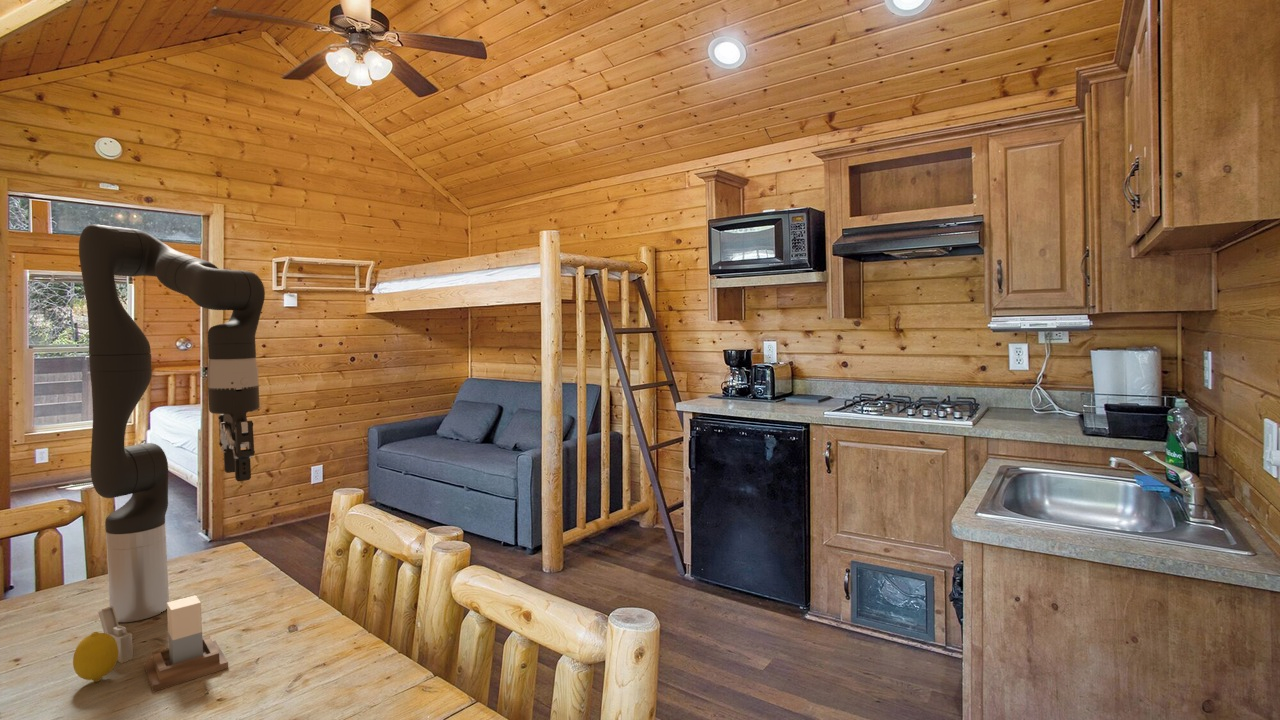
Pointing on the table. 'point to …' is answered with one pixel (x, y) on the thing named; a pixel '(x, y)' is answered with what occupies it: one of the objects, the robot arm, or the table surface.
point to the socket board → (184, 666)
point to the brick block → (184, 629)
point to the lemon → (95, 656)
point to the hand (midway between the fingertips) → (237, 476)
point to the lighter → (117, 633)
